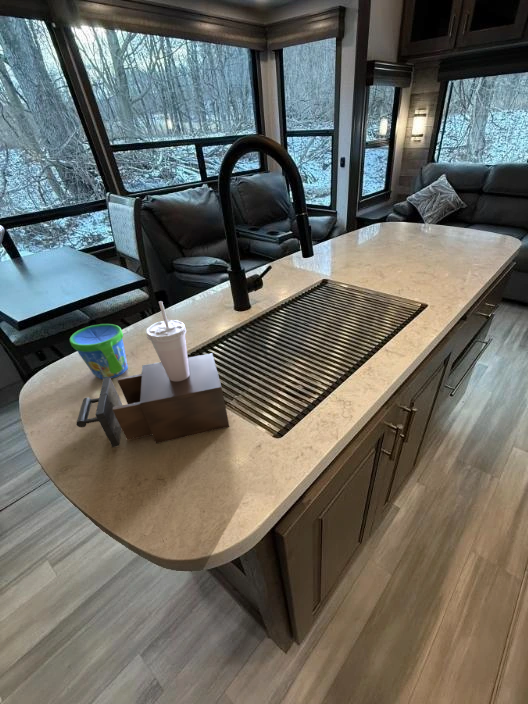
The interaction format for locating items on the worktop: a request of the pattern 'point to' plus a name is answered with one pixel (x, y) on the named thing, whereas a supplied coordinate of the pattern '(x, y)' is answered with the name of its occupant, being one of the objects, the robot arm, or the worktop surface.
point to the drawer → (117, 410)
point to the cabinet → (183, 400)
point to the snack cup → (101, 349)
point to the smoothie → (170, 346)
